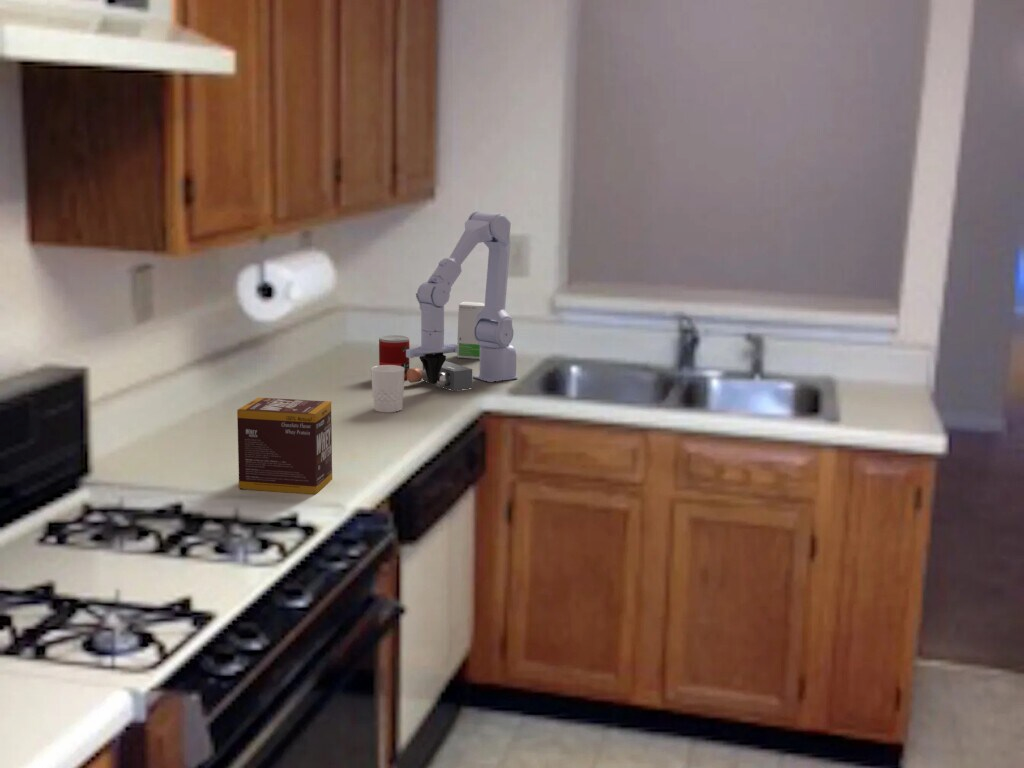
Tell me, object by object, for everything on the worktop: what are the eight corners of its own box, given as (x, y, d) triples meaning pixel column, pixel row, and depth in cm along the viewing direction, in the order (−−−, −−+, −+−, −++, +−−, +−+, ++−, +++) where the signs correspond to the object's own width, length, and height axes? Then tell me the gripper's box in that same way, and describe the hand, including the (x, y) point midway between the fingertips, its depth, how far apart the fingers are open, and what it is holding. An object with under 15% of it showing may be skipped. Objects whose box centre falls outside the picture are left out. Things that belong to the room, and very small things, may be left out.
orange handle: (431, 378, 333) (431, 364, 332) (438, 380, 330) (438, 367, 329) (406, 381, 329) (406, 367, 328) (413, 383, 326) (413, 370, 325)
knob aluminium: (457, 382, 328) (457, 368, 328) (465, 384, 326) (465, 371, 325) (433, 385, 324) (433, 371, 323) (440, 388, 321) (441, 374, 321)
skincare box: (456, 358, 364) (456, 304, 361) (461, 353, 371) (461, 301, 367) (485, 359, 363) (485, 305, 360) (489, 355, 369) (490, 302, 366)
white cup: (411, 409, 302) (411, 368, 300) (386, 415, 297) (386, 373, 295) (389, 404, 308) (389, 363, 306) (364, 409, 302) (364, 368, 300)
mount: (440, 378, 337) (440, 358, 336) (472, 389, 325) (472, 368, 324) (422, 380, 334) (422, 360, 332) (454, 391, 322) (454, 370, 321)
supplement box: (317, 495, 236) (315, 413, 232) (238, 489, 238) (235, 408, 235) (334, 479, 246) (332, 400, 242) (258, 474, 248) (256, 396, 245)
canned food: (408, 382, 332) (407, 340, 330) (377, 381, 332) (377, 340, 330) (410, 375, 340) (410, 335, 337) (381, 375, 340) (380, 334, 338)
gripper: (448, 325, 326) (448, 376, 329) (399, 330, 318) (399, 383, 321) (463, 329, 321) (463, 381, 323) (414, 334, 312) (414, 388, 315)
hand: (432, 383), depth 322 cm, fingers closed
